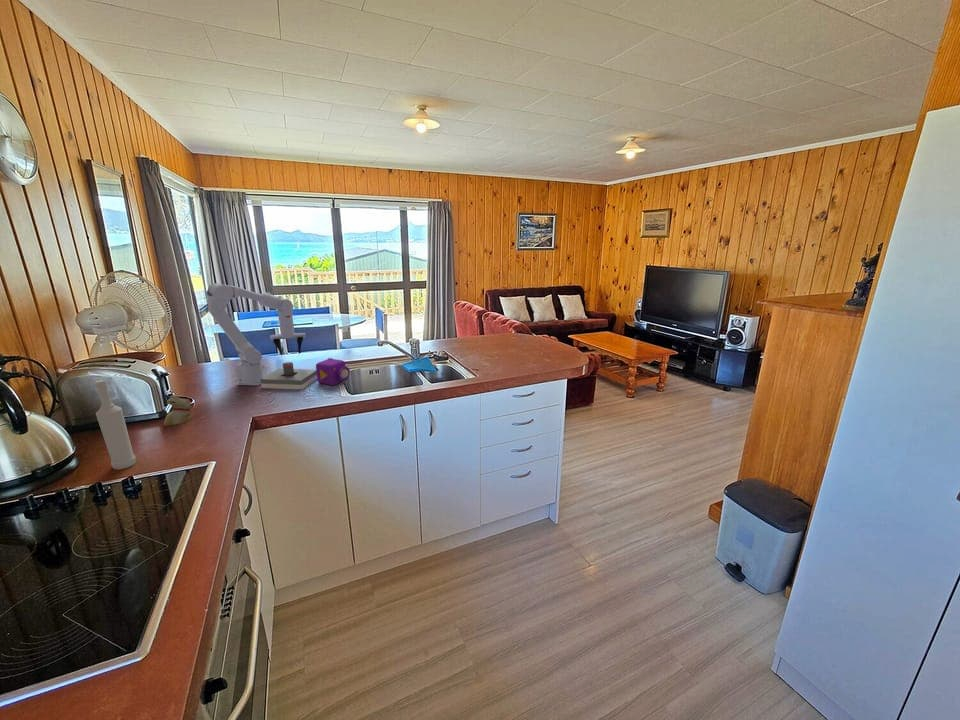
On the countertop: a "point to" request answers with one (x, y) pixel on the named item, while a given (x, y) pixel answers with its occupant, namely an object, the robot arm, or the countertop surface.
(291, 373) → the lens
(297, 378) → the white flat box
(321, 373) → the toy camera
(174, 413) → the chocolate bunny
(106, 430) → the bottle
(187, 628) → the countertop surface
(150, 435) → the countertop surface
